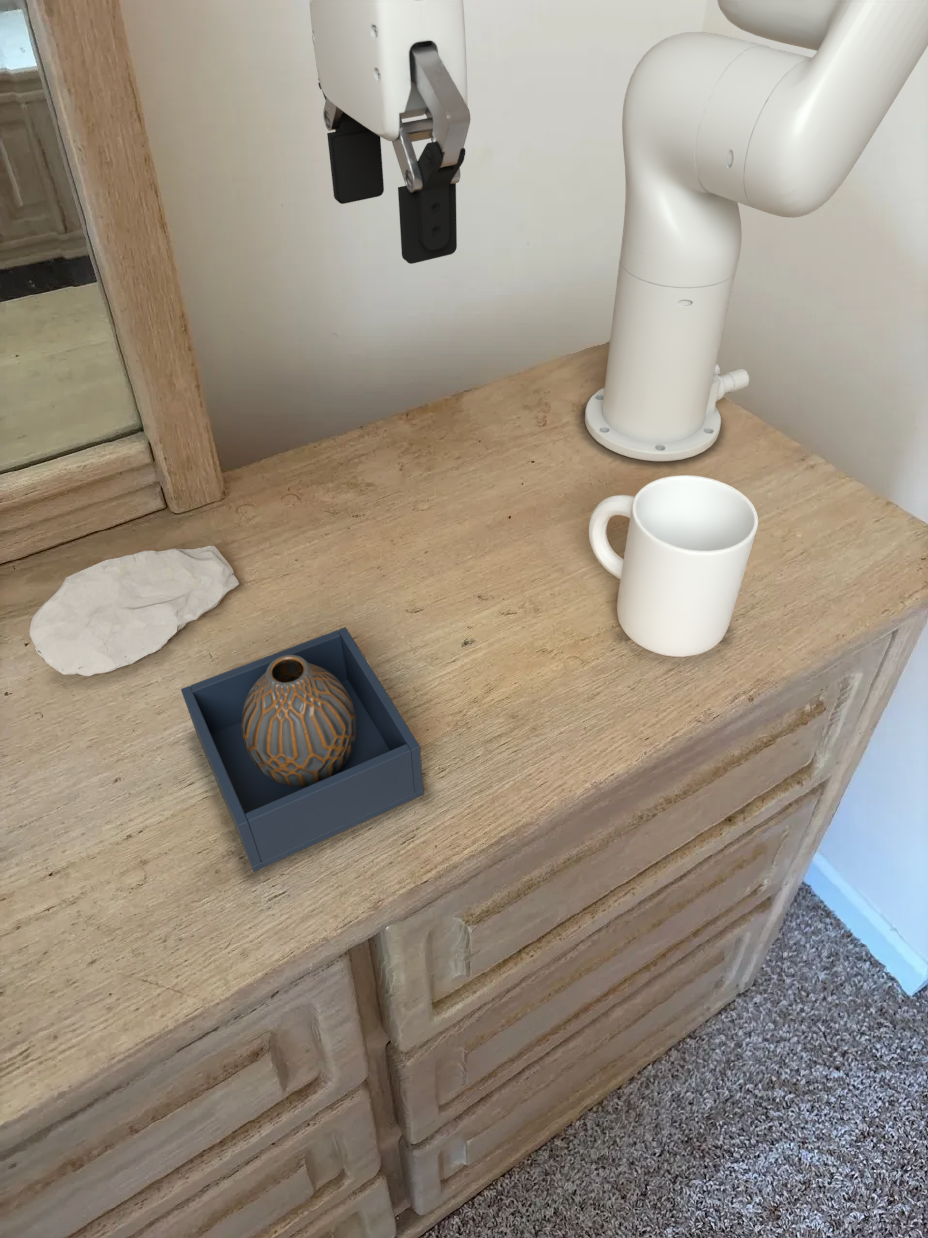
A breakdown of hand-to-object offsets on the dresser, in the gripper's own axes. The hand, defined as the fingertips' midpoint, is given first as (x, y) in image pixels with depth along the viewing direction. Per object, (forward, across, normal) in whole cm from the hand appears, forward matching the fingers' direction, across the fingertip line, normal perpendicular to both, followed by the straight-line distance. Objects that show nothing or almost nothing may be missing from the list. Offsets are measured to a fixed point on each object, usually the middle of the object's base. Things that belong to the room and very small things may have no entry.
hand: (392, 225), depth 54 cm
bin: (+26, -15, +15) cm, 34 cm away
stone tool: (+26, +3, +21) cm, 34 cm away
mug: (+26, -14, -13) cm, 33 cm away
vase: (+26, -15, +15) cm, 33 cm away
